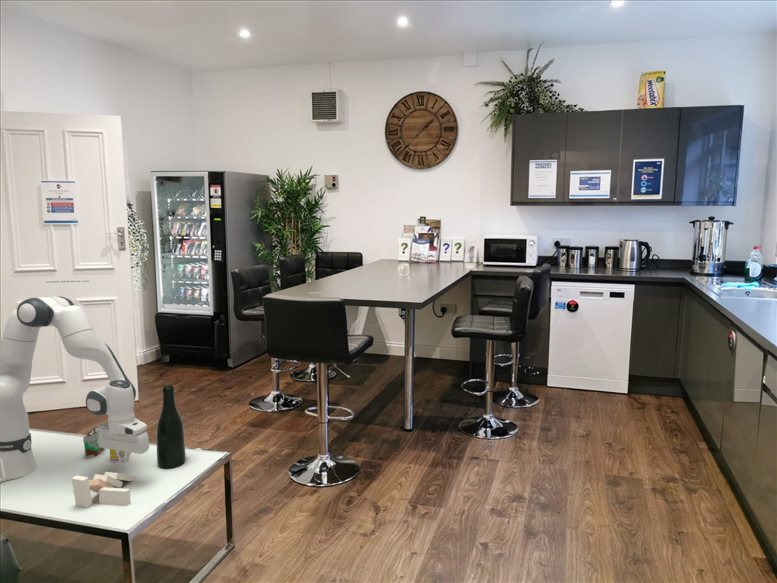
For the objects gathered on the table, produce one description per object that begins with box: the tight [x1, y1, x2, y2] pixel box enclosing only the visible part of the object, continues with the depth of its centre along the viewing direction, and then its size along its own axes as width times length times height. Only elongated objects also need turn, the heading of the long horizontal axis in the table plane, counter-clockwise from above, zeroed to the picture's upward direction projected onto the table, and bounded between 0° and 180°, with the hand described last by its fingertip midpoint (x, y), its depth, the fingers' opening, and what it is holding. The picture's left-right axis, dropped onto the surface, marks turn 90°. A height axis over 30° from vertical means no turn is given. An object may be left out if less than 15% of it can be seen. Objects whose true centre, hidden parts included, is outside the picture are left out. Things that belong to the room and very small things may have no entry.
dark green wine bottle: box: [155, 382, 187, 470], centre depth 225 cm, size 10×10×33 cm
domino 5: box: [98, 487, 131, 506], centre depth 197 cm, size 2×5×10 cm
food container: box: [82, 425, 104, 459], centre depth 236 cm, size 12×6×10 cm, turn 9°
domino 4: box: [92, 473, 124, 488], centre depth 205 cm, size 2×5×10 cm
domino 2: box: [89, 479, 114, 494], centre depth 200 cm, size 2×5×10 cm
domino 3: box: [104, 471, 135, 482], centre depth 209 cm, size 2×5×10 cm
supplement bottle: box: [109, 449, 125, 463], centre depth 231 cm, size 7×7×13 cm
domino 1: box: [71, 474, 93, 508], centre depth 194 cm, size 2×5×10 cm, turn 72°
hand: (124, 461), depth 212 cm, fingers closed
